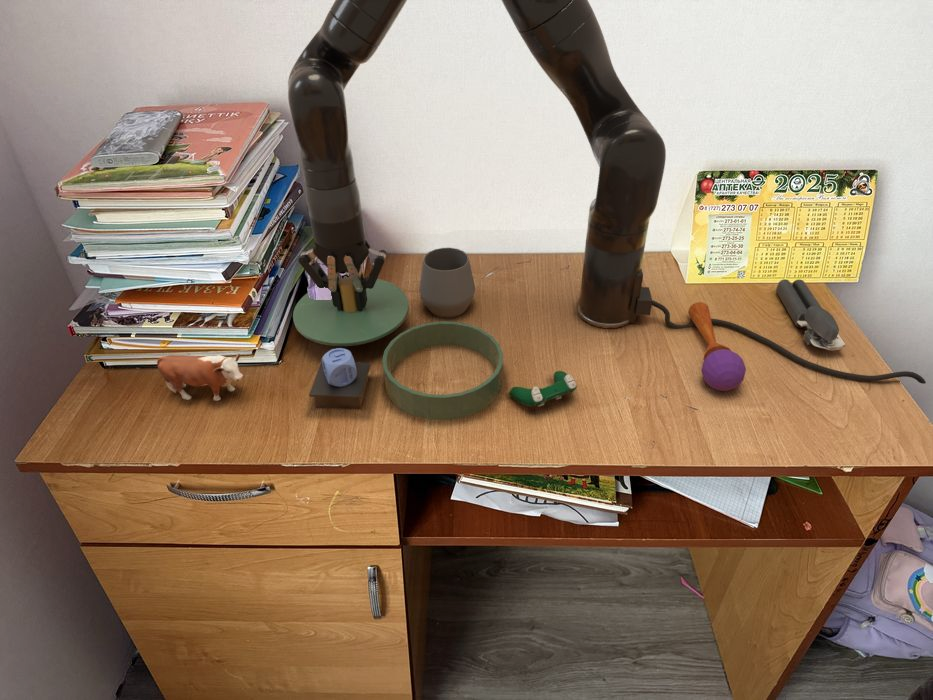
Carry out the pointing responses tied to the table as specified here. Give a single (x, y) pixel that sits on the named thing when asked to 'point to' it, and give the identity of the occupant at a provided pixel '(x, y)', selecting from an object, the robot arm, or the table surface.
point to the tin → (450, 403)
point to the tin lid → (352, 315)
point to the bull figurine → (199, 372)
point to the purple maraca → (716, 354)
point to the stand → (341, 390)
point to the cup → (446, 282)
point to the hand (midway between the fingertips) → (350, 307)
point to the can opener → (809, 315)
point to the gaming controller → (544, 390)
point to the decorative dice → (339, 367)
